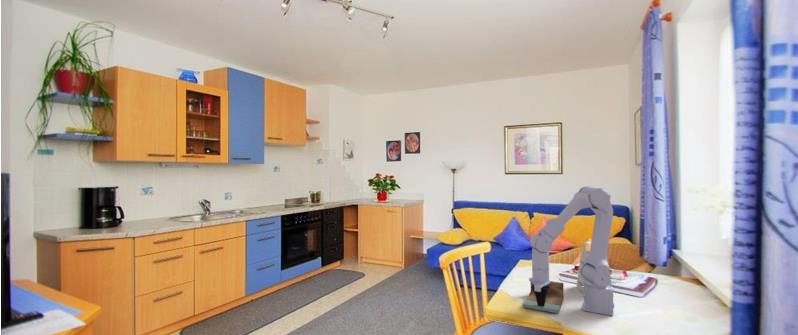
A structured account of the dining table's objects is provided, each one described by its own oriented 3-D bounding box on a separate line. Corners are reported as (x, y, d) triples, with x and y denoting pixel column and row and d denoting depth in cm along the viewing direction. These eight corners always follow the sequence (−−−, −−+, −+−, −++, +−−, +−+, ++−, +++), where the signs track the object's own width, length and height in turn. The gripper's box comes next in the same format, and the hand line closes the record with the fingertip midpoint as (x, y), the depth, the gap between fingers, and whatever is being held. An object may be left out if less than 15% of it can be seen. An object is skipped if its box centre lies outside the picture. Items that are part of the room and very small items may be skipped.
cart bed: (563, 299, 140) (563, 282, 140) (560, 309, 131) (560, 291, 131) (531, 294, 146) (531, 278, 146) (526, 303, 137) (525, 286, 137)
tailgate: (560, 305, 131) (558, 310, 126) (560, 309, 131) (558, 314, 126) (525, 299, 137) (522, 304, 132) (525, 303, 137) (522, 307, 132)
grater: (576, 286, 155) (576, 239, 154) (602, 287, 153) (602, 240, 153) (585, 295, 144) (584, 245, 144) (613, 296, 143) (613, 245, 142)
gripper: (532, 261, 139) (533, 296, 139) (525, 271, 126) (525, 310, 127) (552, 263, 135) (552, 299, 136) (546, 274, 123) (547, 314, 123)
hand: (541, 305), depth 131 cm, fingers closed
